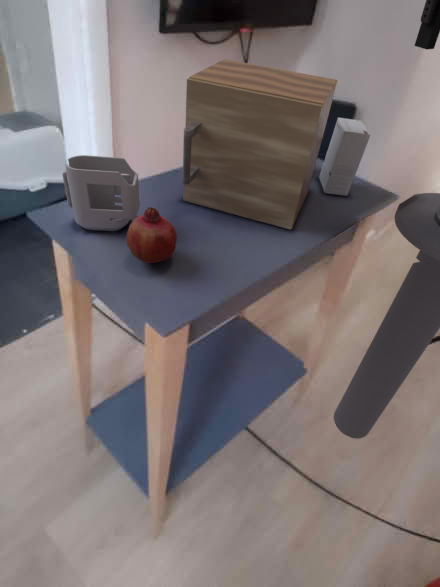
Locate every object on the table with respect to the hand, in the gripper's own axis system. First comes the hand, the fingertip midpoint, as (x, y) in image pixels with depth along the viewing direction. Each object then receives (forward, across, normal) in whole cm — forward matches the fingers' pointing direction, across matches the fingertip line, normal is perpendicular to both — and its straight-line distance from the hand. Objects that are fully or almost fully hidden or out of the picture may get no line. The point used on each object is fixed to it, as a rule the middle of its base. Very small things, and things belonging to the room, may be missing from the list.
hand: (424, 47), depth 63 cm
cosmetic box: (+32, -1, -14) cm, 35 cm away
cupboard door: (+30, +29, -7) cm, 42 cm away
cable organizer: (+28, +52, -12) cm, 61 cm away
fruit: (+29, +48, +1) cm, 56 cm away
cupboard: (+30, +21, -16) cm, 40 cm away
